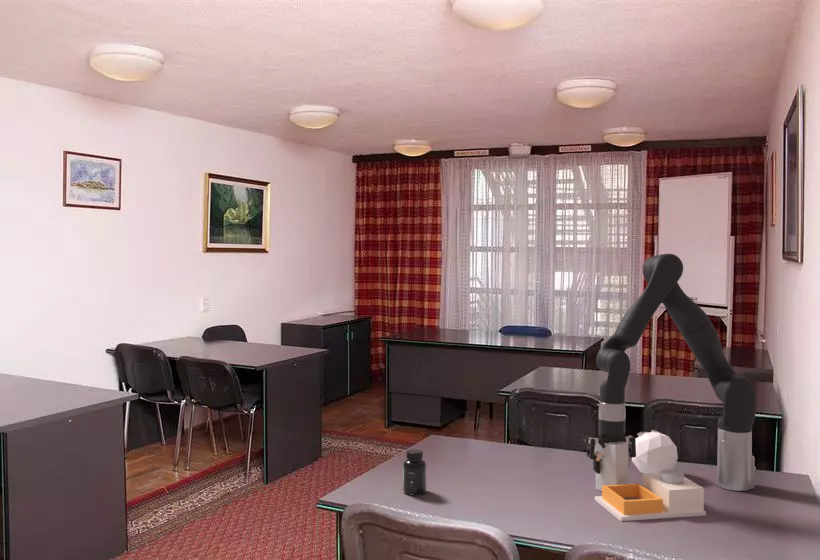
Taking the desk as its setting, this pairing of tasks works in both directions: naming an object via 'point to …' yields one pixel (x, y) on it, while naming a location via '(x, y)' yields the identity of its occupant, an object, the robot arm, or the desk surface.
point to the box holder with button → (654, 498)
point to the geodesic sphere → (654, 453)
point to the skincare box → (613, 465)
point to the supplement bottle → (414, 472)
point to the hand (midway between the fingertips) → (611, 472)
